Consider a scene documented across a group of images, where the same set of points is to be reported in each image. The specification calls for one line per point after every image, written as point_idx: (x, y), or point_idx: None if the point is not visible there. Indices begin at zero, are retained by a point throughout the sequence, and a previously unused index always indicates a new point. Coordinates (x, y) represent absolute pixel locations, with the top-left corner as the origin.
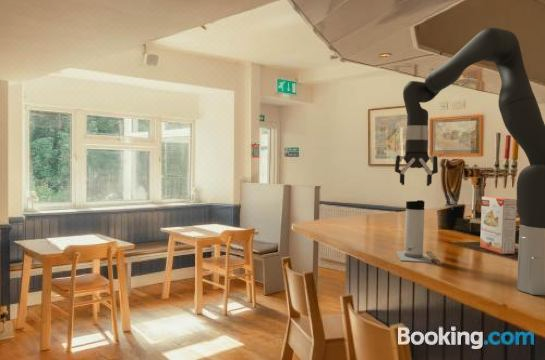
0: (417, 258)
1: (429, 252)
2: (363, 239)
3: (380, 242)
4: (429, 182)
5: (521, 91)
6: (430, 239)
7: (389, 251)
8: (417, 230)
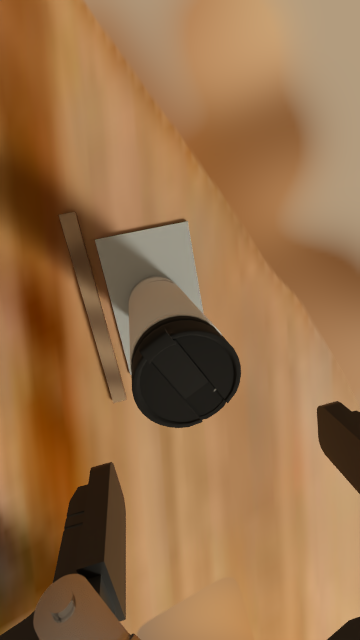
0: (141, 271)
1: (114, 378)
2: (306, 491)
3: (260, 474)
4: (90, 486)
5: None
6: (131, 592)
7: None
8: (151, 295)
